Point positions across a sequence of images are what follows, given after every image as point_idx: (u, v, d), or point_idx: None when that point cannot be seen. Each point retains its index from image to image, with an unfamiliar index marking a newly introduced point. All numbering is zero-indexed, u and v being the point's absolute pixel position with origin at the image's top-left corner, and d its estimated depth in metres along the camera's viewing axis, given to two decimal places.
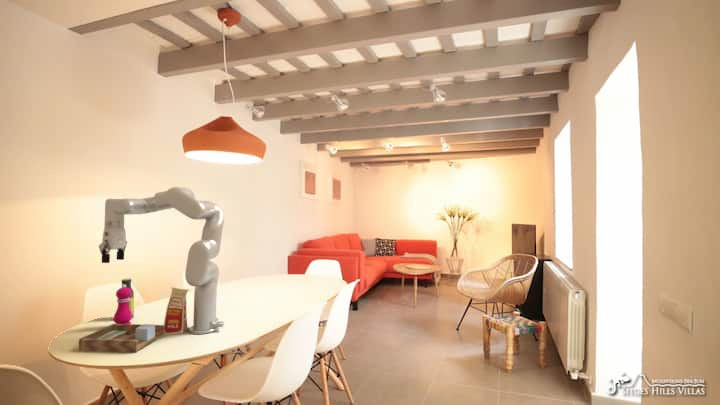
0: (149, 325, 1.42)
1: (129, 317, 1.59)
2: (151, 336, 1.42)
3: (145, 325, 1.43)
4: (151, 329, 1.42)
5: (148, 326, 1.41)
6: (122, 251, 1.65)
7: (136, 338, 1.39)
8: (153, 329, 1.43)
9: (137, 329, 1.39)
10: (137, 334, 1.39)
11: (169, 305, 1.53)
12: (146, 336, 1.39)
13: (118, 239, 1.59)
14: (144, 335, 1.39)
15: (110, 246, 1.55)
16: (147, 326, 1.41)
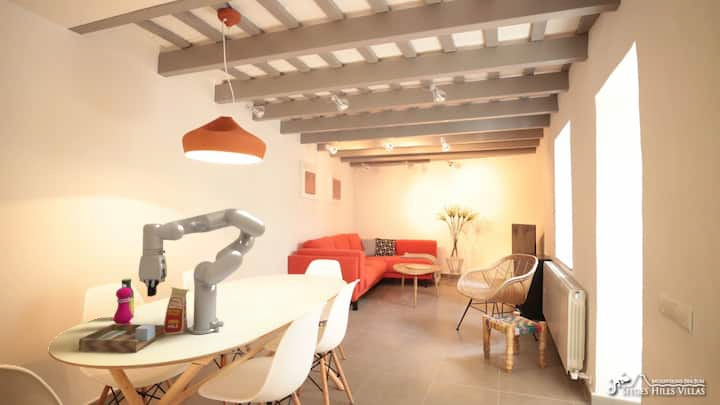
0: (149, 325, 1.42)
1: (129, 317, 1.59)
2: (151, 336, 1.42)
3: (145, 325, 1.43)
4: (151, 329, 1.42)
5: (148, 326, 1.41)
6: None
7: (136, 338, 1.39)
8: (153, 329, 1.43)
9: (137, 329, 1.39)
10: (137, 334, 1.39)
11: (169, 305, 1.53)
12: (146, 336, 1.39)
13: None
14: (144, 335, 1.39)
15: (166, 274, 1.46)
16: (147, 326, 1.41)
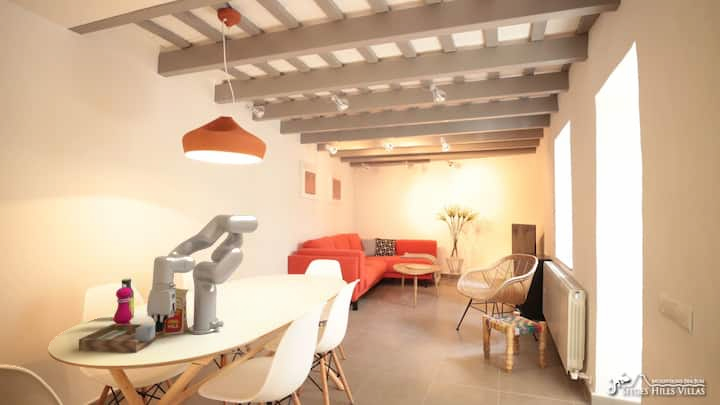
0: (149, 325, 1.42)
1: (129, 317, 1.59)
2: (151, 336, 1.42)
3: (145, 325, 1.43)
4: (151, 329, 1.42)
5: (148, 326, 1.41)
6: None
7: (136, 338, 1.39)
8: (153, 329, 1.43)
9: (137, 329, 1.39)
10: (137, 334, 1.39)
11: None
12: (146, 336, 1.39)
13: None
14: (144, 335, 1.39)
15: (175, 309, 1.43)
16: (147, 326, 1.41)
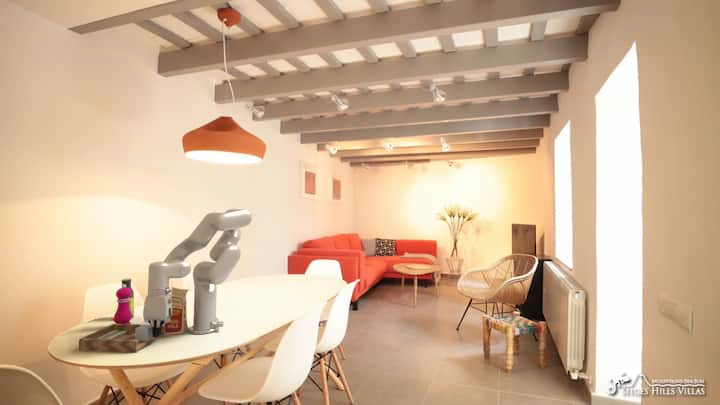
0: (149, 325, 1.42)
1: (129, 317, 1.59)
2: (151, 336, 1.42)
3: (145, 325, 1.43)
4: (151, 329, 1.42)
5: (148, 326, 1.41)
6: None
7: (136, 338, 1.39)
8: None
9: (137, 329, 1.39)
10: (137, 334, 1.39)
11: None
12: (146, 336, 1.39)
13: None
14: (144, 335, 1.39)
15: None
16: (147, 326, 1.41)
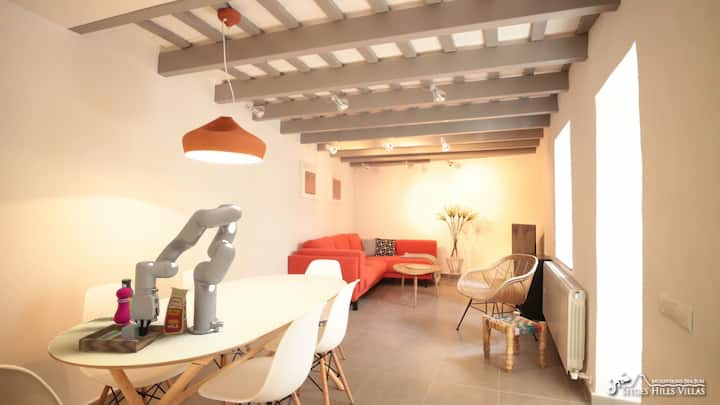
0: (136, 325, 1.42)
1: (129, 317, 1.59)
2: (137, 336, 1.41)
3: (131, 325, 1.42)
4: (138, 329, 1.42)
5: (134, 326, 1.41)
6: None
7: (122, 338, 1.39)
8: None
9: (123, 329, 1.39)
10: (123, 334, 1.39)
11: (169, 305, 1.53)
12: (132, 336, 1.39)
13: None
14: (130, 335, 1.39)
15: None
16: (133, 326, 1.41)
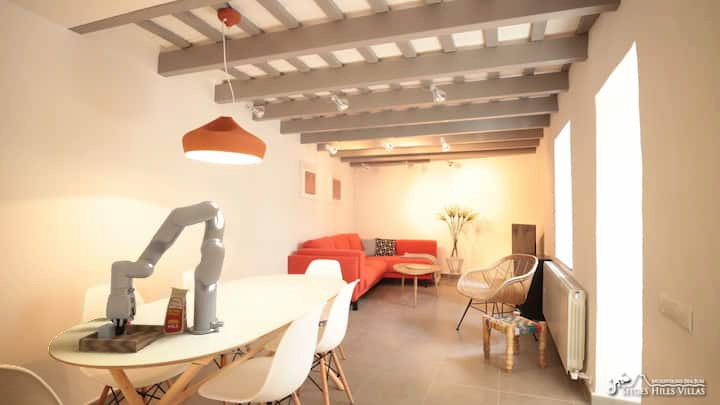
0: (112, 324, 1.42)
1: None
2: (114, 335, 1.42)
3: (109, 324, 1.43)
4: (114, 328, 1.42)
5: (110, 326, 1.41)
6: None
7: (98, 337, 1.39)
8: None
9: (99, 328, 1.40)
10: (99, 333, 1.40)
11: (169, 305, 1.53)
12: (107, 335, 1.39)
13: None
14: (105, 334, 1.39)
15: (135, 312, 1.44)
16: (110, 325, 1.42)
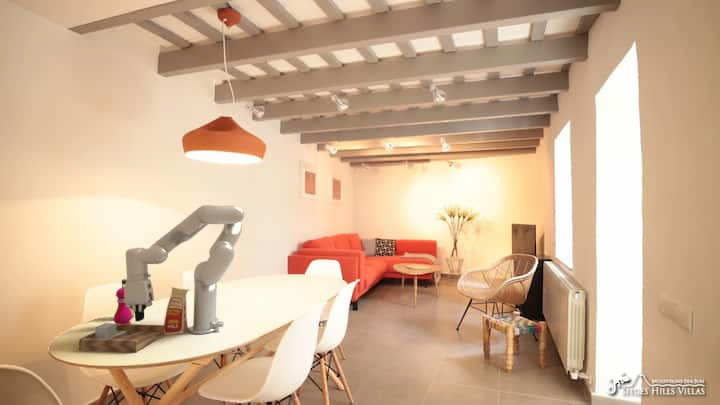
0: (110, 324, 1.43)
1: (129, 317, 1.59)
2: (111, 335, 1.42)
3: (106, 324, 1.43)
4: (111, 328, 1.42)
5: (108, 325, 1.41)
6: None
7: (96, 337, 1.40)
8: (114, 328, 1.43)
9: (97, 328, 1.40)
10: (96, 333, 1.40)
11: (169, 305, 1.53)
12: (105, 335, 1.39)
13: None
14: (103, 334, 1.39)
15: (153, 298, 1.46)
16: (107, 325, 1.42)
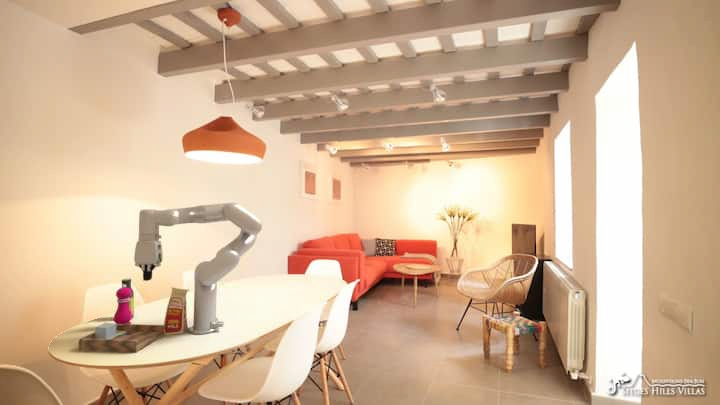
0: (110, 324, 1.43)
1: (129, 317, 1.59)
2: (111, 335, 1.42)
3: (106, 324, 1.43)
4: (111, 328, 1.42)
5: (108, 325, 1.41)
6: None
7: (96, 337, 1.40)
8: (114, 328, 1.43)
9: (97, 328, 1.40)
10: (96, 333, 1.40)
11: (169, 305, 1.53)
12: (105, 335, 1.39)
13: None
14: (103, 334, 1.39)
15: (162, 259, 1.50)
16: (107, 325, 1.42)
